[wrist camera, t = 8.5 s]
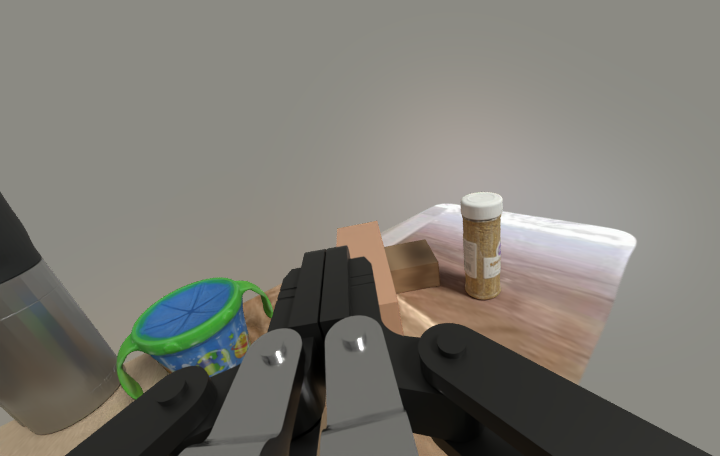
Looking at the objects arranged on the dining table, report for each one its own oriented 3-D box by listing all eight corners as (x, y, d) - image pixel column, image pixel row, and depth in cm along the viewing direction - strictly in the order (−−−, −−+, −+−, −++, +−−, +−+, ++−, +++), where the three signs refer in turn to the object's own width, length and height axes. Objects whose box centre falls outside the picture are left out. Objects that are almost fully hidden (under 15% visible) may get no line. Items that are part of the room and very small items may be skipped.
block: (360, 409, 28) (332, 313, 23) (355, 301, 42) (337, 228, 37) (414, 400, 28) (397, 301, 23) (390, 295, 42) (377, 220, 37)
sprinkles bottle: (503, 301, 37) (506, 203, 31) (465, 300, 38) (461, 206, 33) (498, 279, 41) (499, 189, 35) (463, 279, 42) (459, 192, 36)
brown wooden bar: (318, 307, 42) (311, 285, 41) (321, 280, 49) (315, 259, 47) (440, 285, 42) (438, 262, 40) (427, 260, 48) (425, 239, 47)
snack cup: (270, 316, 43) (246, 257, 39) (299, 359, 35) (272, 291, 30) (151, 381, 36) (105, 318, 32) (150, 456, 27) (88, 384, 23)
